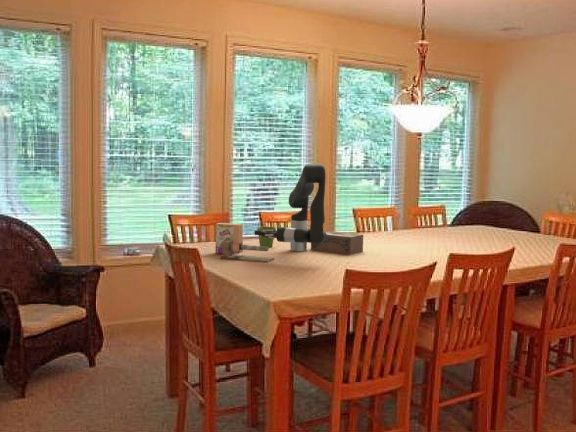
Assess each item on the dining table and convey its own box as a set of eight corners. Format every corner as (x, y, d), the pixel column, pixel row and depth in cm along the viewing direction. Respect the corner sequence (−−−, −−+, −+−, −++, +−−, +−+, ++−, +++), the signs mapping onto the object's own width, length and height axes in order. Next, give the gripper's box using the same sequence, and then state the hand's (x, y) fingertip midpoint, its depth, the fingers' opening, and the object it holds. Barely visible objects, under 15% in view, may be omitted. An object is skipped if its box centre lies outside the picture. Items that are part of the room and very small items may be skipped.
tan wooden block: (237, 251, 327) (237, 223, 326) (242, 251, 326) (243, 224, 325) (232, 253, 322) (233, 225, 320) (238, 253, 321) (238, 225, 319)
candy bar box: (215, 253, 336) (215, 223, 334) (218, 252, 341) (218, 222, 339) (234, 255, 333) (235, 224, 331) (237, 253, 338) (238, 223, 336)
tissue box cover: (310, 250, 358) (311, 232, 357) (324, 247, 369) (324, 230, 368) (350, 255, 343) (350, 237, 342) (362, 252, 355) (363, 234, 354)
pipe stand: (227, 255, 331) (228, 239, 330) (274, 259, 323) (274, 243, 323) (220, 258, 322) (220, 242, 321) (267, 262, 314) (267, 246, 313)
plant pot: (277, 245, 369) (277, 226, 368) (274, 248, 357) (275, 229, 356) (257, 244, 370) (257, 226, 369) (254, 248, 359) (254, 228, 357)
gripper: (291, 225, 320) (259, 223, 326) (283, 228, 308) (250, 226, 313) (291, 240, 321) (259, 238, 327) (282, 243, 309) (250, 241, 314)
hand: (255, 232), depth 320 cm, fingers closed
